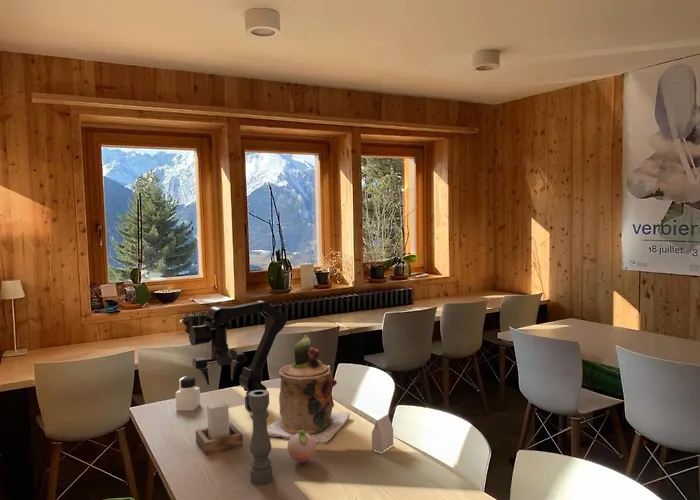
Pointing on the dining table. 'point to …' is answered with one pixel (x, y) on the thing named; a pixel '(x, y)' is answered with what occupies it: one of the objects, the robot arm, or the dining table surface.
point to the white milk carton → (382, 434)
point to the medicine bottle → (187, 394)
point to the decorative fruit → (301, 446)
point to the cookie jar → (307, 397)
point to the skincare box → (218, 420)
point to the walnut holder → (219, 440)
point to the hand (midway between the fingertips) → (220, 382)
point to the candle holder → (260, 438)
